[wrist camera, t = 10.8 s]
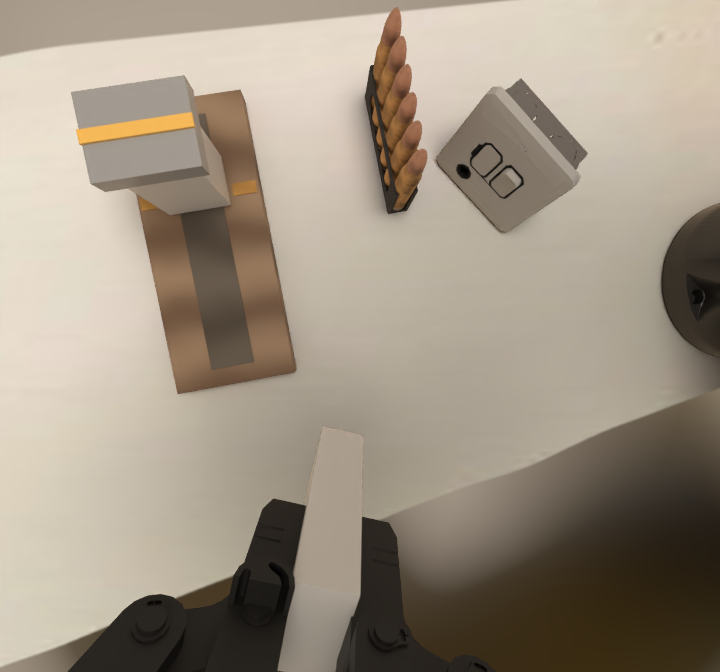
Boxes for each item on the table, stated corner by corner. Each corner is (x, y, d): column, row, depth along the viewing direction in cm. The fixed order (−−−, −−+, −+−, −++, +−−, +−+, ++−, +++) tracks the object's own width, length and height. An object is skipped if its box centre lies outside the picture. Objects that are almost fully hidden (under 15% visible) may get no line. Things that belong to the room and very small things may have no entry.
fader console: (296, 369, 39) (294, 372, 37) (185, 390, 38) (177, 394, 36) (245, 101, 38) (239, 88, 36) (129, 119, 37) (117, 107, 35)
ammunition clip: (364, 95, 38) (379, -5, 26) (384, 92, 39) (408, -10, 27) (387, 214, 39) (412, 168, 27) (407, 210, 39) (441, 163, 27)
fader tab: (241, 210, 36) (201, 164, 25) (162, 224, 35) (87, 182, 24) (229, 147, 35) (183, 73, 24) (149, 160, 35) (67, 90, 24)
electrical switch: (432, 161, 39) (472, 103, 30) (470, 124, 40) (522, 57, 30) (501, 236, 40) (562, 203, 31) (538, 198, 40) (608, 155, 31)
